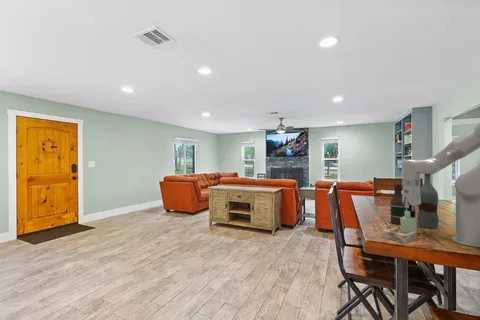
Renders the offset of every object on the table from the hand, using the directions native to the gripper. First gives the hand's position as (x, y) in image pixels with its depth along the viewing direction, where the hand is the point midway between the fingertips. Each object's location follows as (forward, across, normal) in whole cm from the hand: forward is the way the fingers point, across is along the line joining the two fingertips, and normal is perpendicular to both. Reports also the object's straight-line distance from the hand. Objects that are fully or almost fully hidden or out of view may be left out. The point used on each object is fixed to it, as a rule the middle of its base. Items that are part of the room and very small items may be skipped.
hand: (410, 218), depth 121 cm
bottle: (+7, -3, 0) cm, 8 cm away
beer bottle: (+8, +13, +12) cm, 19 cm away
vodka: (+8, +20, 0) cm, 21 cm away
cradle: (+8, -13, -1) cm, 15 cm away
